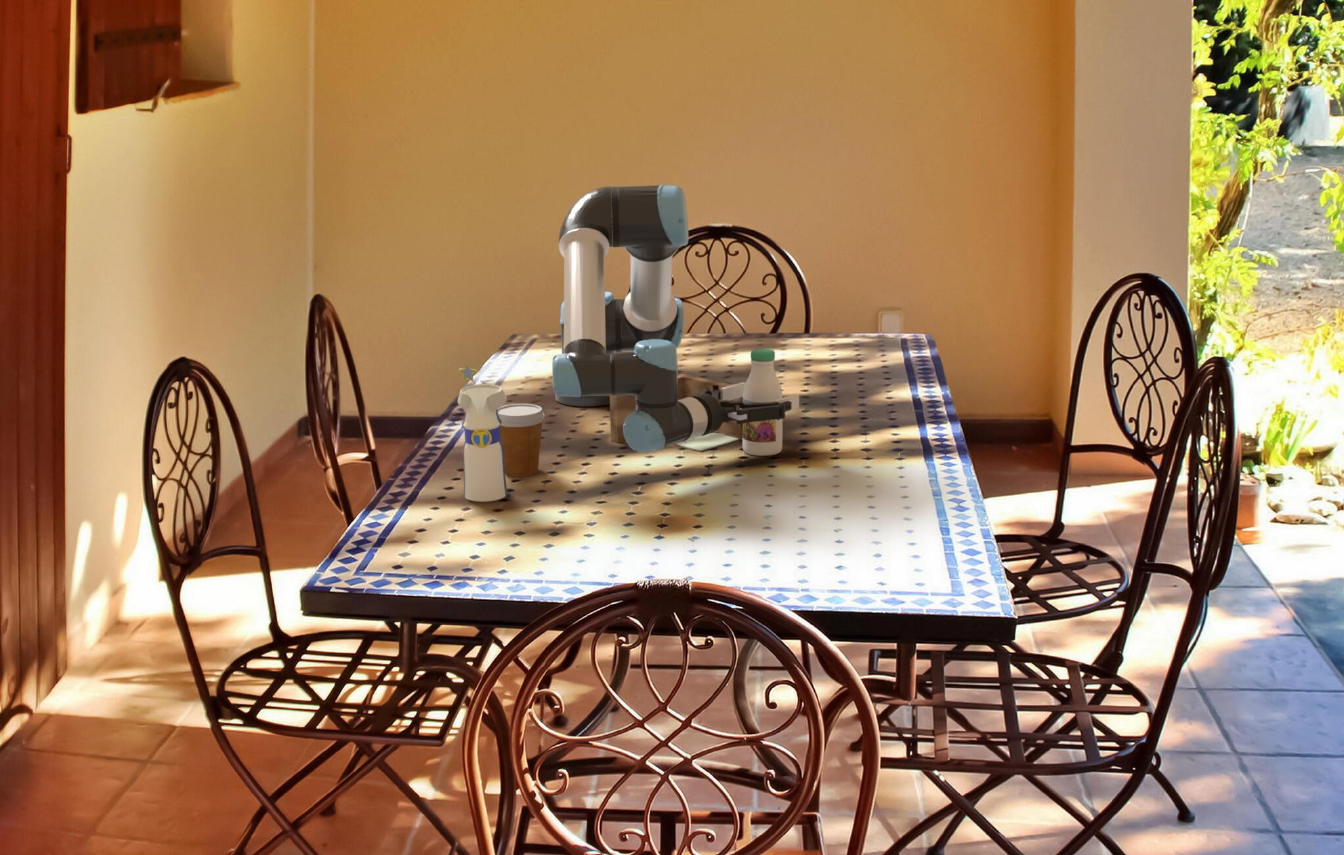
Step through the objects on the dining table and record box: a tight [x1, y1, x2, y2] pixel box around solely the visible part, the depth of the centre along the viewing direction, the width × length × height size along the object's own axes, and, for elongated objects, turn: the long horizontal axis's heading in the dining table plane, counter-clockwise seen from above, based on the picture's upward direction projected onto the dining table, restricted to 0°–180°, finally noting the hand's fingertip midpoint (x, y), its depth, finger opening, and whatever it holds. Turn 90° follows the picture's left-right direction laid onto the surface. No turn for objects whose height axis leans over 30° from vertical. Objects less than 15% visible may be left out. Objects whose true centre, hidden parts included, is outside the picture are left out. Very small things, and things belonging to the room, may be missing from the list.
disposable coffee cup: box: [498, 403, 545, 477], centre depth 267 cm, size 10×10×12 cm
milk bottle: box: [742, 348, 784, 457], centre depth 277 cm, size 8×8×20 cm
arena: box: [609, 373, 742, 453], centre depth 287 cm, size 18×21×10 cm
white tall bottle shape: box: [457, 362, 508, 502], centre depth 253 cm, size 8×9×25 cm
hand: (770, 394), depth 278 cm, fingers open, 13 cm apart
